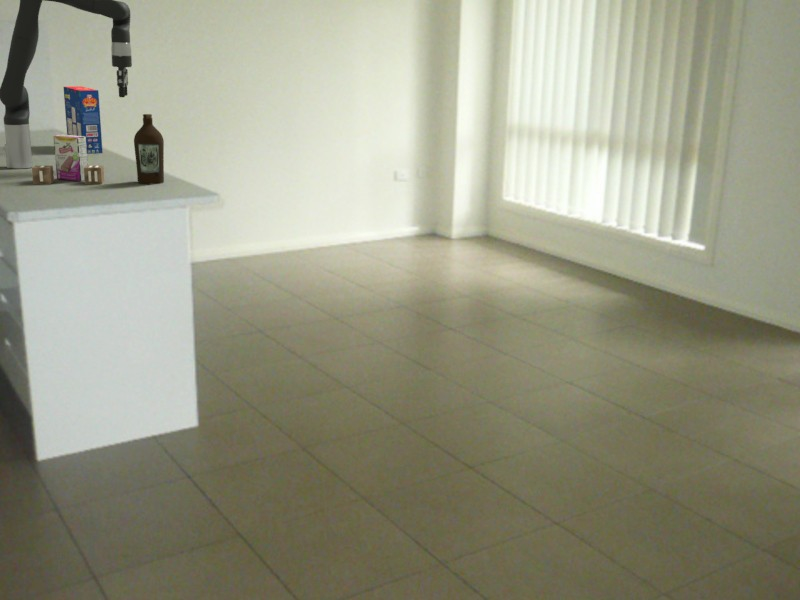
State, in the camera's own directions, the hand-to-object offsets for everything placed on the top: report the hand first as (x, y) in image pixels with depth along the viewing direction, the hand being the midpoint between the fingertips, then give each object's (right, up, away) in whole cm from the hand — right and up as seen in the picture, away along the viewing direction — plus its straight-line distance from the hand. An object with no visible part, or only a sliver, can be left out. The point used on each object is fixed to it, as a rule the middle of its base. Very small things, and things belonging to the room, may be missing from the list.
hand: (123, 96), depth 365 cm
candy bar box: (-12, -36, -22) cm, 45 cm away
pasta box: (-36, -12, +59) cm, 70 cm away
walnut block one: (-20, -39, -30) cm, 53 cm away
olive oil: (+17, -38, -24) cm, 48 cm away
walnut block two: (-2, -38, -28) cm, 47 cm away
